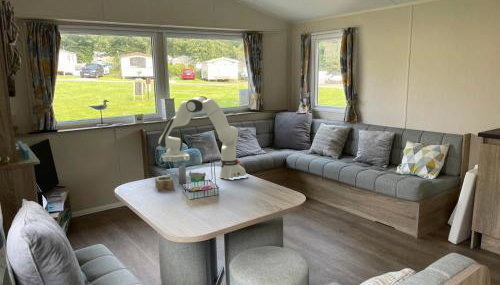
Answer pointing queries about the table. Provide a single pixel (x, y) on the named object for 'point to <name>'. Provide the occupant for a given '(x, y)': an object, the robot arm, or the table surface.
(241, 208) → the table surface
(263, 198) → the table surface
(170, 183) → the walnut holder
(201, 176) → the food container
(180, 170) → the slate grey canister
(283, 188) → the table surface
